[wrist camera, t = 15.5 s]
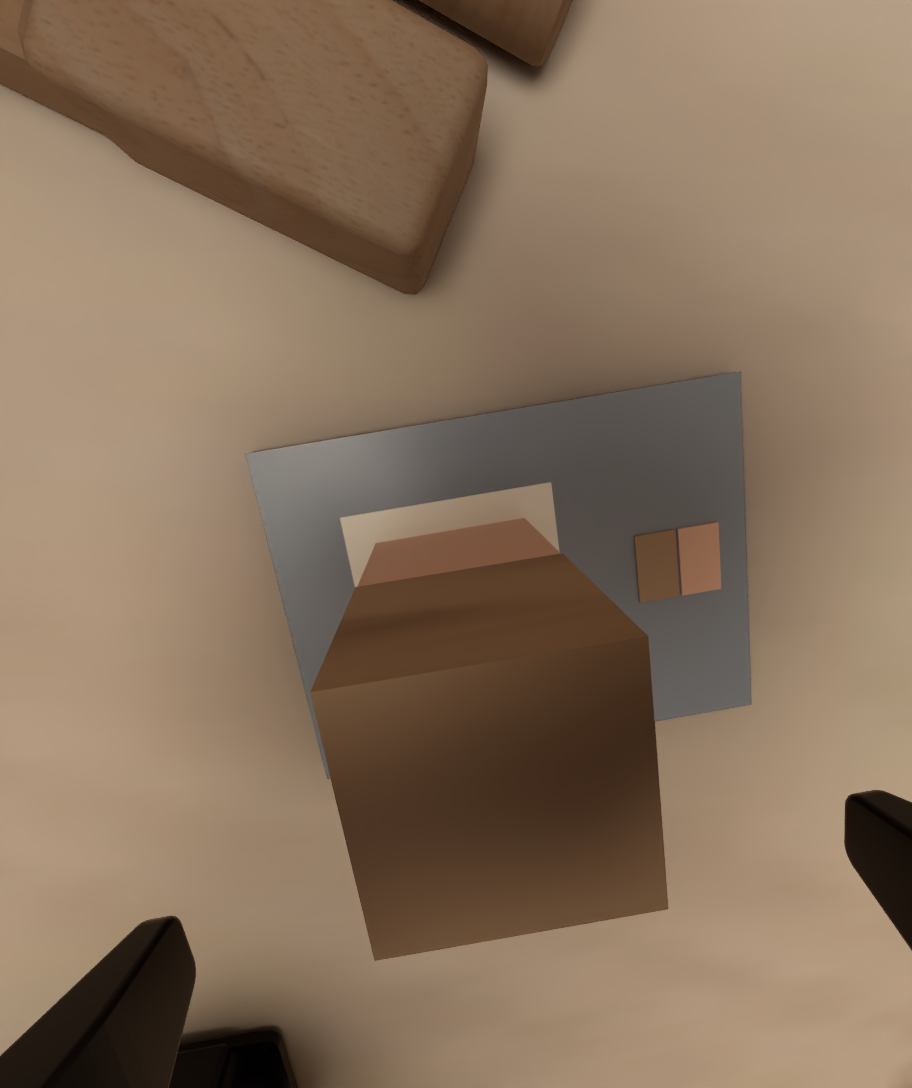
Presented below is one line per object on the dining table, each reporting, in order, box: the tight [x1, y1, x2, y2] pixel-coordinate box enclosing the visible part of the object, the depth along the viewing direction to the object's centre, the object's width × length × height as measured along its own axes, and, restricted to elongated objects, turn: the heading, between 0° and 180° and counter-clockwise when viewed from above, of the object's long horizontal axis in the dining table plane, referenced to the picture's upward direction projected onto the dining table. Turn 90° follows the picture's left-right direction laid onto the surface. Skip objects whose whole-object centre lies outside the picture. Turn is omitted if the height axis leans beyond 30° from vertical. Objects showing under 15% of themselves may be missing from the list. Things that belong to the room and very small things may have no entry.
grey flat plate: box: [246, 371, 752, 779], centre depth 18 cm, size 12×16×1 cm
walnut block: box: [310, 553, 668, 961], centre depth 11 cm, size 5×5×5 cm
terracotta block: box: [357, 518, 561, 587], centre depth 16 cm, size 5×5×5 cm
